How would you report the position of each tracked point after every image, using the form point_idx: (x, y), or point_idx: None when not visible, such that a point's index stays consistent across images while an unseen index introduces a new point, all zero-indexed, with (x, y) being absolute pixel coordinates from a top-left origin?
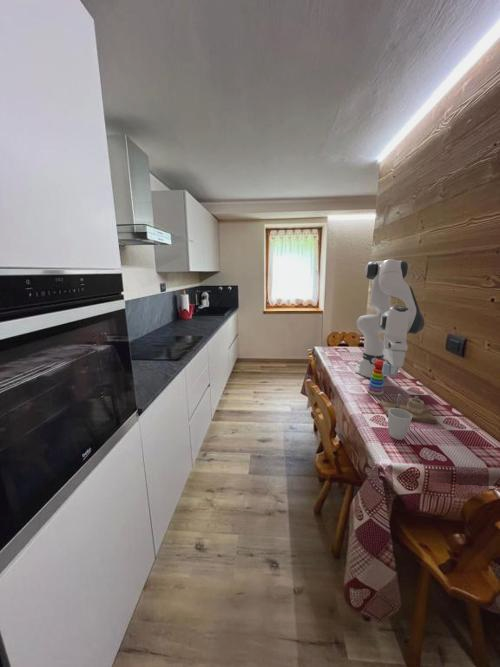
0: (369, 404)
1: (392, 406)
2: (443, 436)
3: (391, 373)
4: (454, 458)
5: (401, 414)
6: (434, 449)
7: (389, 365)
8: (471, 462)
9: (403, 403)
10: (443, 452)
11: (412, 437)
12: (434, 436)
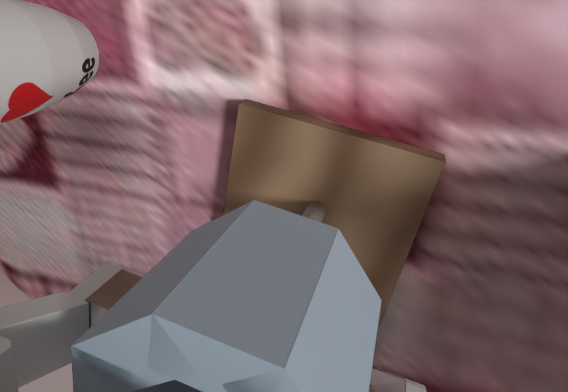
0: (419, 54)
1: (340, 193)
2: (125, 260)
3: (110, 268)
4: (5, 196)
5: (22, 100)
6: (30, 163)
7: (83, 350)
8: (5, 234)
9: (383, 286)
10: (24, 184)
11: (82, 125)
12: (115, 226)
